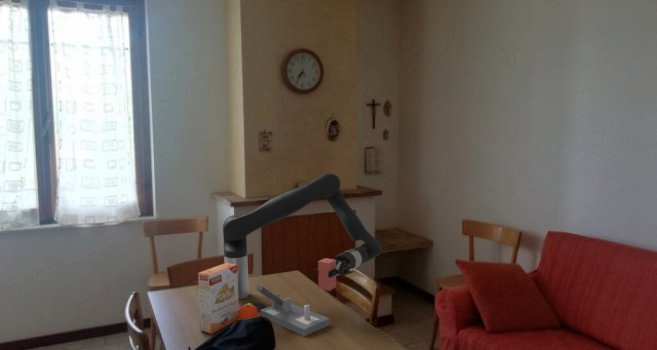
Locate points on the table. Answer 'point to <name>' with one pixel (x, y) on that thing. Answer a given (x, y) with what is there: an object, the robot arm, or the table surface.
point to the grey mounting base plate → (295, 317)
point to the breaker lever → (270, 295)
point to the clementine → (248, 311)
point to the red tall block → (326, 274)
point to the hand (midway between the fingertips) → (323, 273)
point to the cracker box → (218, 297)
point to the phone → (258, 306)
